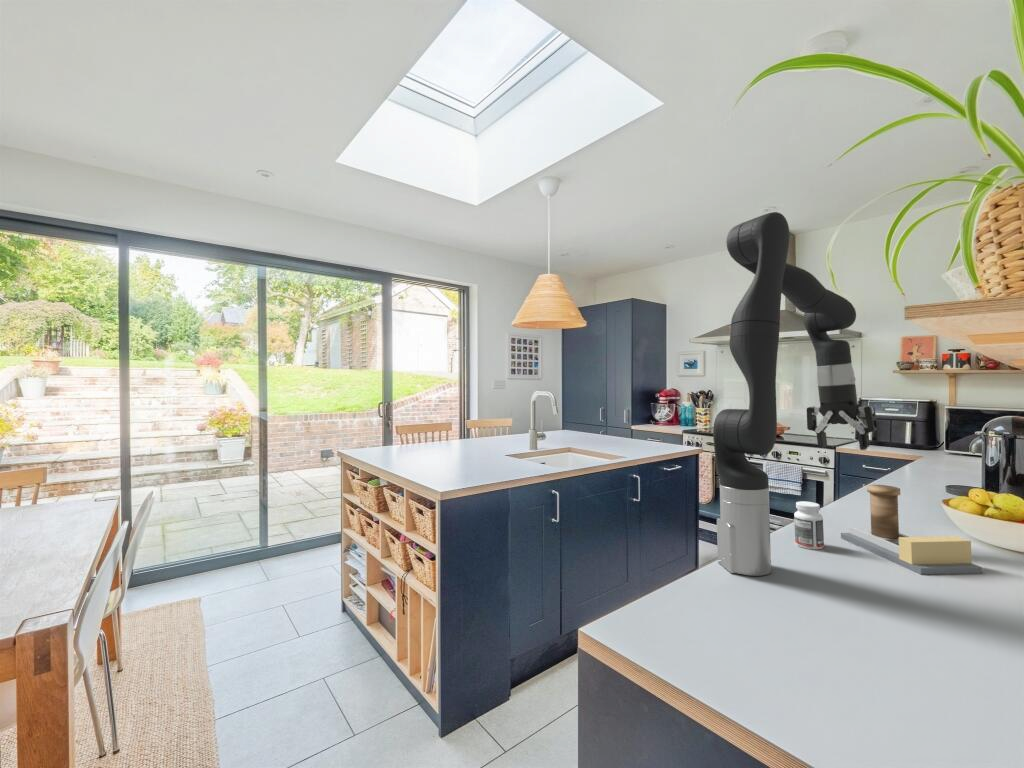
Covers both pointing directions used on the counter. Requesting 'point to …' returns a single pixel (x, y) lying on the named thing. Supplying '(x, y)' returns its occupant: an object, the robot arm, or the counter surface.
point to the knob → (884, 512)
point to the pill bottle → (808, 525)
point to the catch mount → (920, 552)
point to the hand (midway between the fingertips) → (843, 448)
